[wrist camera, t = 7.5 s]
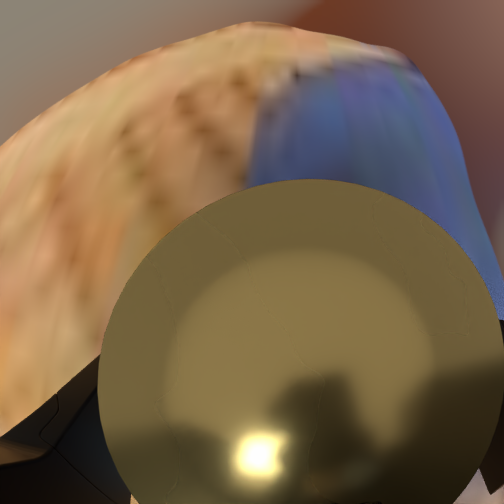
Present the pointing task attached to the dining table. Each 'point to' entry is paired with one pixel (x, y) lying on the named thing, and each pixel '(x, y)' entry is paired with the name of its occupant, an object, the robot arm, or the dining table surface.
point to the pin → (302, 355)
